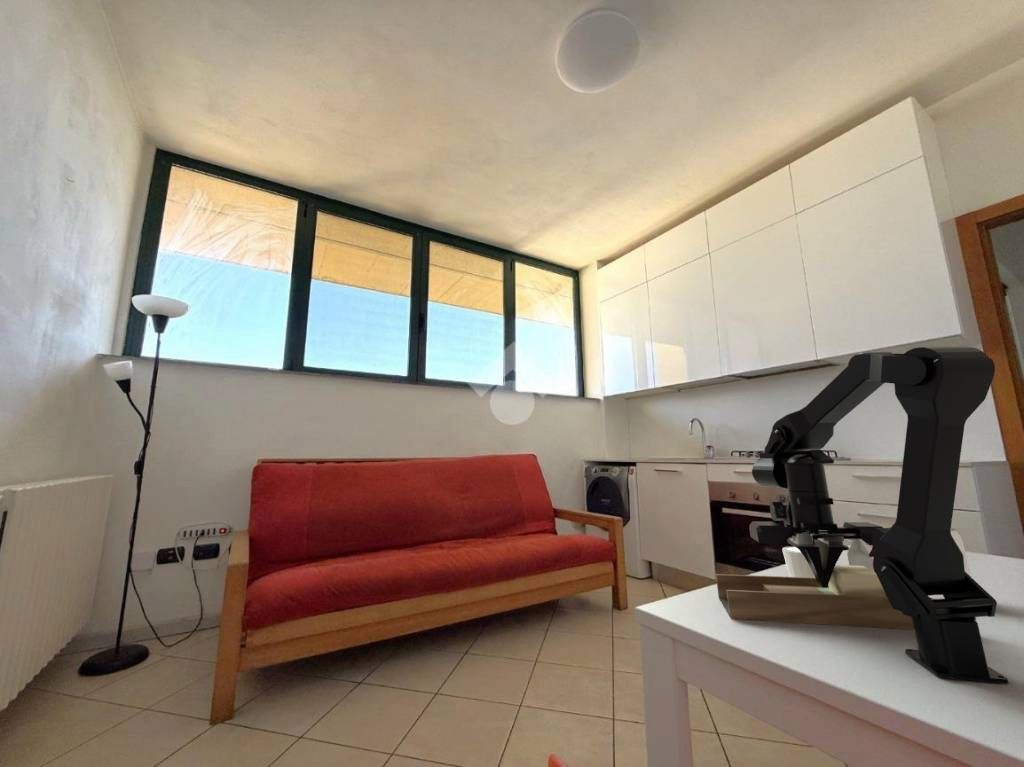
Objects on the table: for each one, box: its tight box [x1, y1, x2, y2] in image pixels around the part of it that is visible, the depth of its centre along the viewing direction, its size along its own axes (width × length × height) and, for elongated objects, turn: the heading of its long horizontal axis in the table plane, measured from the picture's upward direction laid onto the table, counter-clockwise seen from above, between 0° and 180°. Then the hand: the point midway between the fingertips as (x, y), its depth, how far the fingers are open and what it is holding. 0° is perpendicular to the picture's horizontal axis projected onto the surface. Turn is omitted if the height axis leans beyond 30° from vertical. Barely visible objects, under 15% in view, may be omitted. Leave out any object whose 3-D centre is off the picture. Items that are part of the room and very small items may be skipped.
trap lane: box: [715, 573, 933, 631], centre depth 67 cm, size 10×30×4 cm, turn 73°
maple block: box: [828, 564, 886, 597], centre depth 67 cm, size 6×6×4 cm
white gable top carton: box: [847, 539, 874, 571], centre depth 82 cm, size 4×7×10 cm, turn 126°
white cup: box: [781, 545, 815, 578], centre depth 81 cm, size 7×7×7 cm
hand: (823, 586), depth 68 cm, fingers closed
